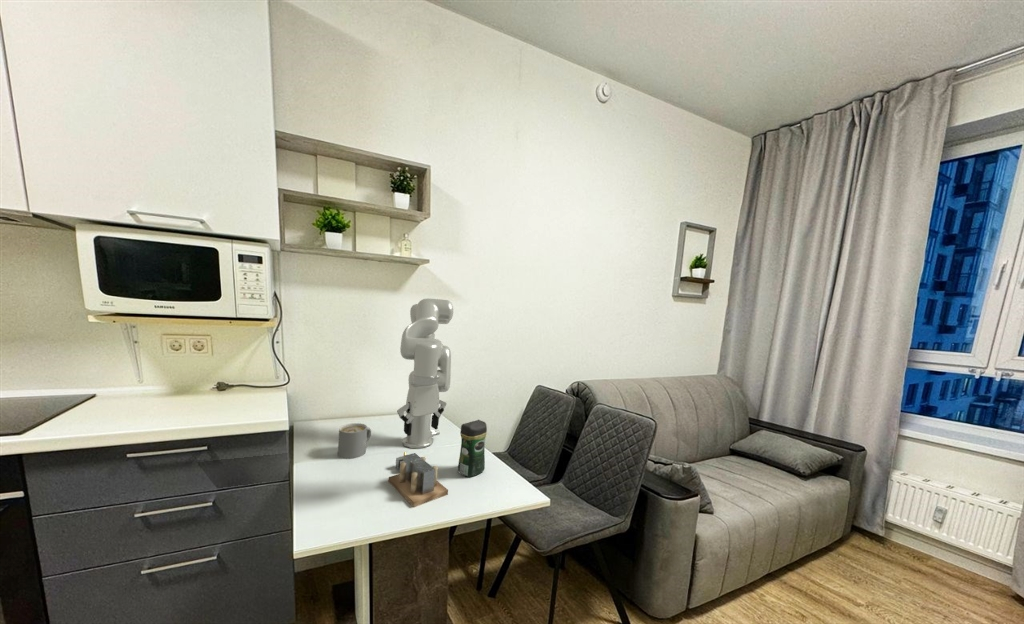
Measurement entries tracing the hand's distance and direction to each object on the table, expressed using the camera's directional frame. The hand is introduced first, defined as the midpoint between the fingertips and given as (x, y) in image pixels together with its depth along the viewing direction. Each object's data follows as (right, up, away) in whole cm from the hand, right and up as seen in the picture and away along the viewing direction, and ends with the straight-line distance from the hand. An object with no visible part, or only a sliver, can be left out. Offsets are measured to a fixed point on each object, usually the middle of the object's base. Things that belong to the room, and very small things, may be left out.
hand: (421, 431), depth 115 cm
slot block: (-9, -18, +13) cm, 23 cm away
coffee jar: (+15, -20, +14) cm, 28 cm away
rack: (-1, -19, 0) cm, 19 cm away
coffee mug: (-32, -16, +23) cm, 42 cm away
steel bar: (-1, -17, 0) cm, 17 cm away
